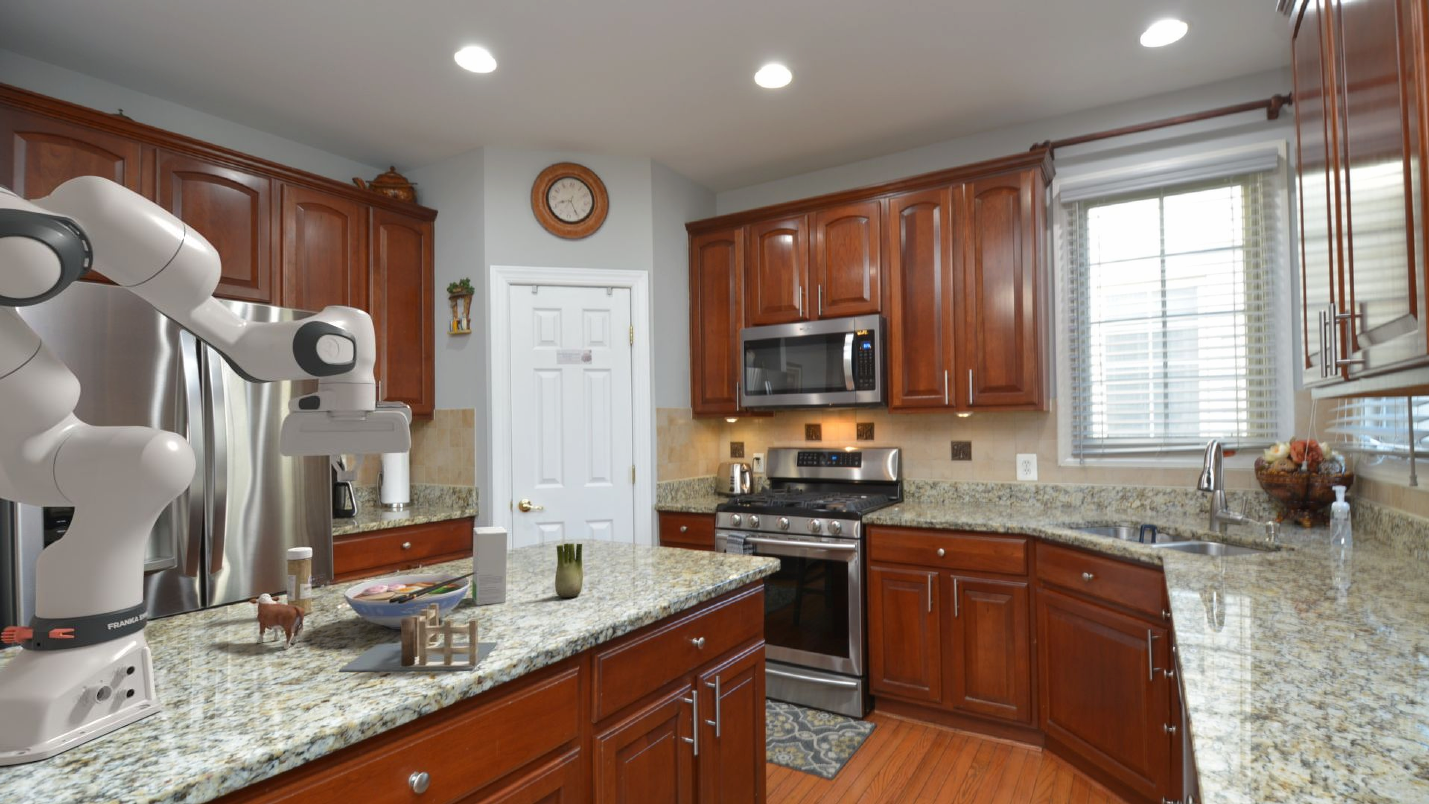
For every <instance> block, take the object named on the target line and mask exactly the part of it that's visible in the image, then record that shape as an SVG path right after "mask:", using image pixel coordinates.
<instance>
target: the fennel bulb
mask: <svg viewBox="0 0 1429 804" xmlns="http://www.w3.org/2000/svg"><path fill="white" fill-rule="evenodd" d="M575 549H576V550H575ZM582 555H583V543H576V548H575V543H564V544H557V545H556V557H557V558H556V559H557V560H556V561H557V567H556V571H555V580H554V588H555V589H554V591H555V592H556V595H557V596H558V597H560V598H564V599H565V598H574V597H578V596H580V594H581V591H582V588H583V580H584V572H583V571H584V570H583V556H582Z"/></svg>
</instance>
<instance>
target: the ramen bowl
mask: <svg viewBox="0 0 1429 804" xmlns="http://www.w3.org/2000/svg"><path fill="white" fill-rule="evenodd" d="M473 574H475V573H474V572H473V571H472V572H471V573H467V574H465V575H459V574H458V575H457V574H449V573H419V574H405V575H396V576H389V577H384V578H382V577H381V578H378V579H373V580H369V581H365V582H361V583H358V584H356V585H353V586H350V587H349V588H347V589H345V591H344V593H343V594H342V595H343V597H344V599H345V600H346V602H347V604H348V605H349V606H350V607H351V609H352V610H354V612H356V613H357V615H358V616H360V617H361V618H363V619H364V620H366V621H367V622H370V623H373V624H376V625H380V626H385V627H388V628H390V629H392V630H393V629H395V630H401V620H402V619H405V618H410V617H411V616H420V611H421V610H422V609H430V604H432V603H439V618H442V617H443V616H445V615H447V614H448V613H450V612H451V611H453V610H454V609H455V608H456V607H457V606H458V605H459V604H460V602H461V601H462V600H463V598H464V597H465V595H466V593H467V591H468V589H469V587H470V585H471V579H470V578H468V577H470V576H473Z"/></svg>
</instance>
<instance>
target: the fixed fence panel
mask: <svg viewBox="0 0 1429 804" xmlns="http://www.w3.org/2000/svg"><path fill="white" fill-rule="evenodd" d="M468 624H469V625H454V619H453V618H447V619H445V620H444V622H443V625H439V626H428V619H422V620H421V621H419V665H426V664H428V655H440V654H444V665H451V664H452V663H453V654H469V665H476V664H477V663H478V643H479V619H478V618H471V619H469V621H468ZM428 634H439V635H441V634H443V635H444V636H443V637H444V638H443V643H444V646H433V647H428ZM455 634H468V643H469V646H453V643H454V635H455Z"/></svg>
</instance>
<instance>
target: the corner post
mask: <svg viewBox="0 0 1429 804" xmlns="http://www.w3.org/2000/svg"><path fill="white" fill-rule="evenodd" d="M400 630H401V633H400V635H401V637H400V638H401V639H400V640H401V666H412V665H414V664H415V618H405V619H402V620H401V629H400Z"/></svg>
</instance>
